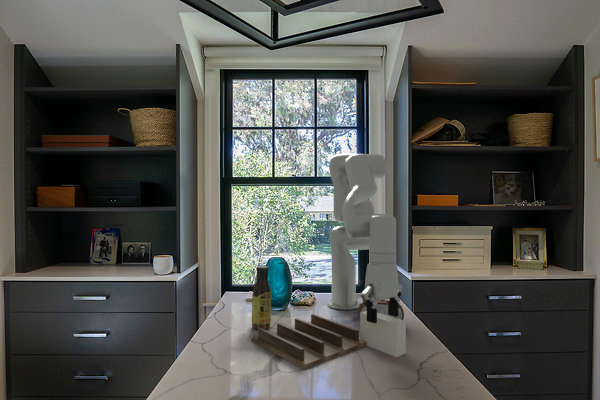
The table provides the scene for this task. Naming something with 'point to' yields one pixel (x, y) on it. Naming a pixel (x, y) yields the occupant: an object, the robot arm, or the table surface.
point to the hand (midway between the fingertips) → (382, 318)
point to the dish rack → (310, 341)
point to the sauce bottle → (261, 300)
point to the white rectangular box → (384, 334)
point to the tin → (383, 309)
